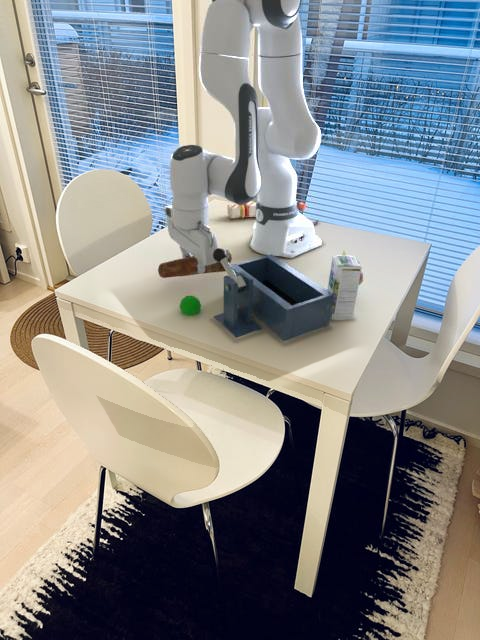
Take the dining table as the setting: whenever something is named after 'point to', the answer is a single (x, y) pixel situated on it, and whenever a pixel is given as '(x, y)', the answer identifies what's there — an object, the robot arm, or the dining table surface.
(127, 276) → the dining table surface
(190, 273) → the bread
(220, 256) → the toaster lever
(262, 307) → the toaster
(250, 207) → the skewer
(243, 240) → the dining table surface
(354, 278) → the syrup box
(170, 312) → the dining table surface
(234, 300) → the lever bracket
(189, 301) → the polyhedron
